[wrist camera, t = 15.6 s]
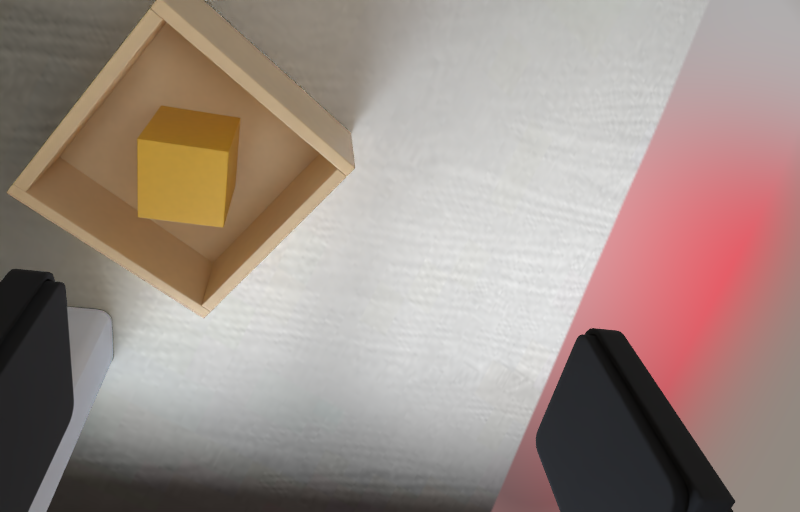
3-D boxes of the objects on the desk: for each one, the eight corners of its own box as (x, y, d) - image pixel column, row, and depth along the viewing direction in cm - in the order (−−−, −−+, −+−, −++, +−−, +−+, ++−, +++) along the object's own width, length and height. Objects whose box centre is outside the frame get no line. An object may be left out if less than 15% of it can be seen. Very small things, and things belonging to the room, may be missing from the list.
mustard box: (240, 117, 37) (228, 151, 32) (235, 186, 39) (223, 228, 34) (160, 105, 36) (136, 138, 31) (159, 176, 38) (137, 217, 34)
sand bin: (181, -20, 33) (158, -4, 29) (351, 132, 39) (355, 168, 34) (45, 153, 37) (5, 193, 33) (216, 270, 43) (203, 319, 38)
